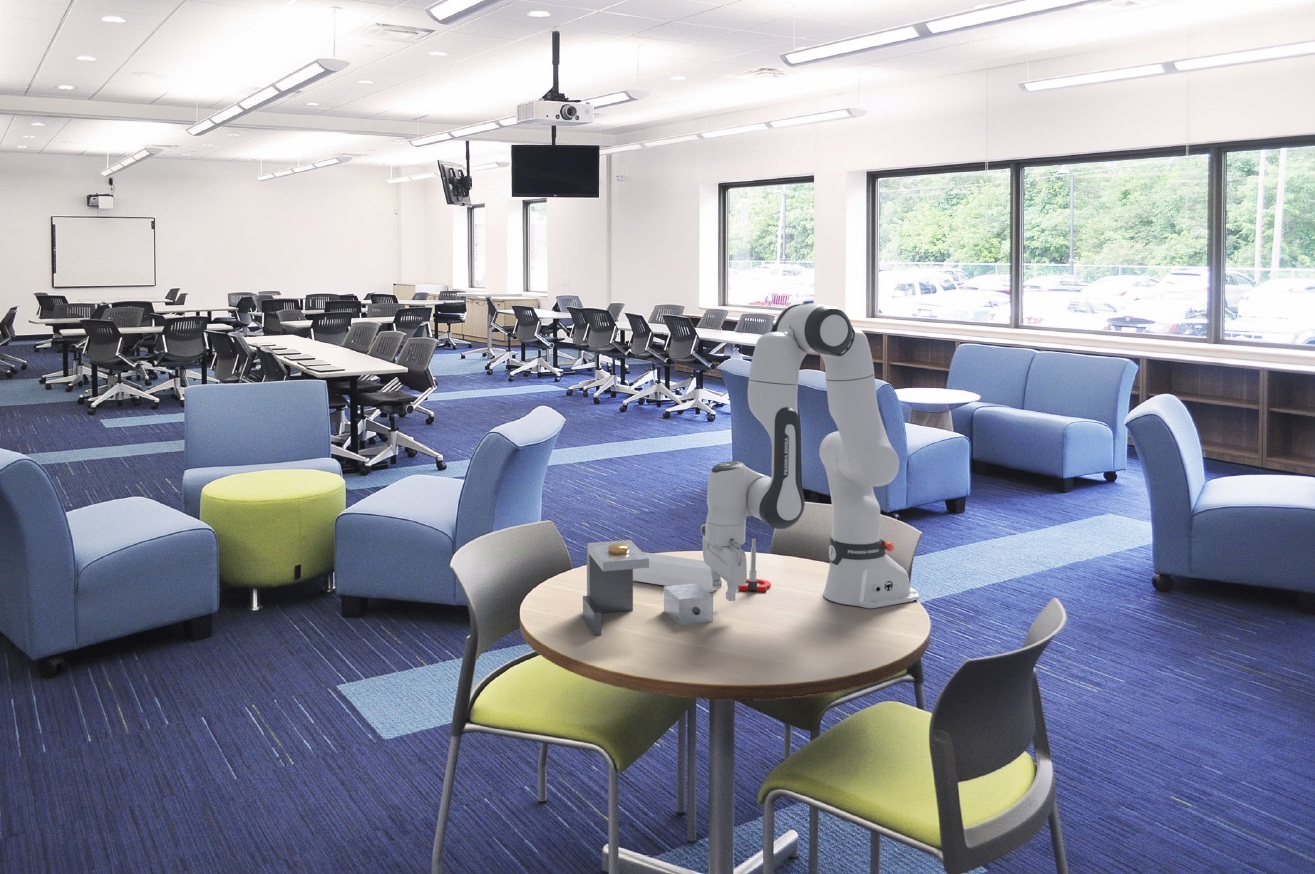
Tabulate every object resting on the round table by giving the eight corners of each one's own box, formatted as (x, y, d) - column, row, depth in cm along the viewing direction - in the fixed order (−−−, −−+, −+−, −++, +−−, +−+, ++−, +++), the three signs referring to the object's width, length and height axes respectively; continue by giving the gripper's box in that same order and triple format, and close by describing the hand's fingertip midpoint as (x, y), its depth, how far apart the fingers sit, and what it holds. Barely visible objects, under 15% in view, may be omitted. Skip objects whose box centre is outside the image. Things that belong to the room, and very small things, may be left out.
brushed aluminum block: (696, 608, 244) (696, 583, 243) (713, 622, 234) (714, 596, 233) (663, 611, 241) (663, 586, 240) (679, 626, 231) (679, 600, 230)
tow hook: (737, 582, 265) (734, 591, 256) (738, 531, 263) (736, 539, 254) (771, 584, 263) (769, 593, 254) (772, 533, 262) (771, 540, 253)
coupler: (629, 606, 244) (629, 533, 241) (648, 630, 228) (649, 553, 225) (578, 610, 241) (577, 537, 238) (594, 635, 225) (593, 557, 222)
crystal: (621, 568, 261) (710, 582, 250) (633, 548, 266) (721, 561, 255) (629, 589, 266) (716, 603, 255) (640, 569, 271) (727, 582, 260)
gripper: (755, 545, 228) (752, 607, 230) (724, 523, 247) (722, 580, 249) (727, 546, 226) (725, 608, 228) (698, 524, 246) (696, 581, 248)
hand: (723, 593), depth 239 cm, fingers open, 8 cm apart
